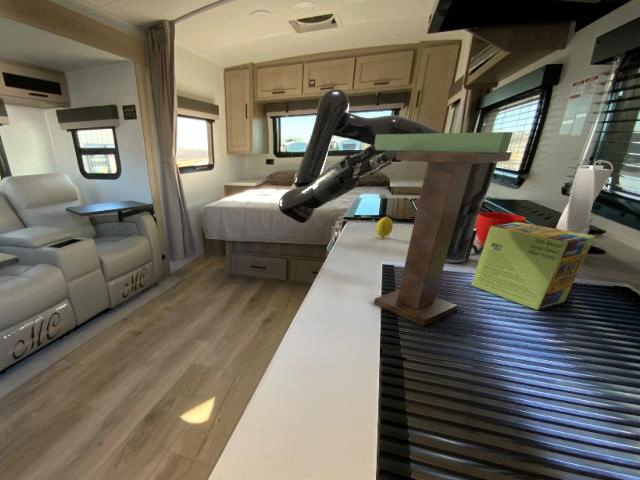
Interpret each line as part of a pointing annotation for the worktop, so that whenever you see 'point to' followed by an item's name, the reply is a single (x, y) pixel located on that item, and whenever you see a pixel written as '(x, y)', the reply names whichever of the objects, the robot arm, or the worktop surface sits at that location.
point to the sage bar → (446, 142)
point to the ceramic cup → (493, 223)
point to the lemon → (384, 227)
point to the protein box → (530, 263)
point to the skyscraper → (583, 197)
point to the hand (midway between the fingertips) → (387, 148)
